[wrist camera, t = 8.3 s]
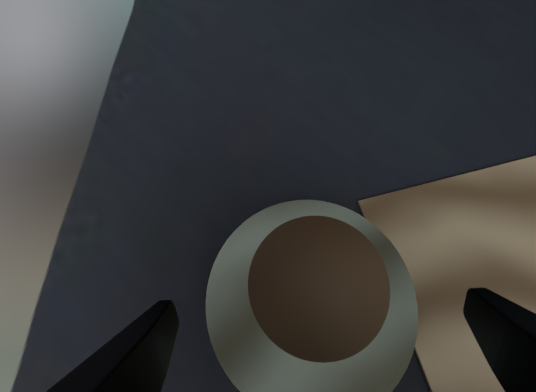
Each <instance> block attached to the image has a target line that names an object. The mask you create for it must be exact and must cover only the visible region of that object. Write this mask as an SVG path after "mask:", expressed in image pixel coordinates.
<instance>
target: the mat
mask: <svg viewBox="0 0 536 392" xmlns="http://www.w3.org/2000/svg"><path fill="white" fill-rule="evenodd" d="M358 204H359V207H360V210H361V212H362V215H363V217H364V218H365V219H367V220H368V221H370V222H371V223H372V224H373V225H375V226H376V227H377V228H378V229H379V230H381V232H382V233H383V234H384V235H385V236H386V237H387V238H388V239H389V240H390V241H391V243H392V244H393V245H394V247H395V248H396V249H397V251H398V252H399V254H400V256H401V258H402V259H403V261H404V263H405V265H406V267H407V269H408V272H409V274H410V276H411V279H412V283H413V286H414V290H415V293H416V300H417V306H418V330H417V339H416V343H415V347H414V349H415V352H416V355H417V357H418V360H419V362H420V365H421V368H422V370H423V373H424V375H425V378H426V380H427V383H428V386H429V388H430V391H431V392H505V391H504V389H503V388H502V386H501V384H500V383H499V381H498V380H497V378H496V376H495V375H494V373H493V371H492V370H491V368H490V366H489V364H488V362H487V360H486V358H485V356H484V354H483V352H482V351H481V349H480V347H479V345H478V343H477V341H476V339H475V337H474V335H473V333H472V331H471V329H470V327H469V325H468V323H467V321H466V319H465V317H464V314H463V307H464V302H465V298H466V293H467V290H468V289H469V288H478V287H483V288H487V289H489V290H491V291H493V292H495V293H497V294H499V295H500V296H502V297H504V298H506V299H508V300H510V301H512V302H514V303H516V304H518V305H520V306H522V307H524V308H526V309H528V310H530V311H532V312H533V313H535V314H536V156H533V157H529V158H525V159H521V160H517V161H513V162H509V163H505V164H501V165H497V166H493V167H489V168H485V169H482V170H478V171H474V172H470V173H466V174H462V175H458V176H454V177H450V178H446V179H442V180H438V181H434V182H430V183H427V184H423V185H419V186H415V187H411V188H407V189H403V190H399V191H395V192H391V193H387V194H383V195H379V196H375V197H372V198H368V199H364V200H360V201H358Z"/></svg>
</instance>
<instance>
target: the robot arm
mask: <svg viewBox="0 0 536 392" xmlns="http://www.w3.org/2000/svg"><path fill="white" fill-rule="evenodd" d="M463 314H464V317H465V319H466V321H467V323H468V325H469V327H470V329H471V331H472V333H473V335H474V337H475V339H476V341H477V343H478V345H479V347H480V349H481V351H482V352H483V354H484V356H485V358H486V360H487V362H488V364H489V366H490V368H491V370H492V371H493V373H494V375H495V376H496V378H497V380H498V381H499V383H500V384H501V386H502V388H503V389H504V391H505V392H536V314H535V313H533V312H532V311H530V310H528V309H526V308H524V307H522V306H520V305H518V304H516V303H514V302H512V301H510V300H508V299H506V298H504V297H502V296H500V295H499V294H497V293H495V292H493V291H491V290H489V289H487V288H483V287H478V288H469V289H468V290H467V293H466V298H465V302H464V307H463ZM178 326H179V319H178V315H177V312H176V308H175V305H174V302H173V301H172V300H161V301H158V302H157V303H156V304H154V305H153V306H152V307H151V308H149V309H148V310H147V311H146V312H145V313H143V314H142V315H141V316H140V317H138V318H137V319H136V320H135V321H133V322H132V323H131V324H130V325H128V326H127V327H126V328H125V329H123V330H122V331H121V332H120V333H118V334H117V335H116V336H115V337H113V338H112V339H111V340H110V341H108V342H107V343H106V344H105V345H103V346H102V347H101V348H100V349H98V350H97V351H96V352H95V353H93V354H92V355H91V356H90V357H88V358H87V359H86V360H85V361H83V362H82V363H81V364H80V365H78V366H77V367H76V368H75V369H73V370H72V371H71V372H70V373H69V374H67V375H66V376H65V377H64V378H62V379H61V380H60V381H59V382H57V383H56V384H55V385H54V386H52V387H51V388H50V389H49V390H47V392H161V389H162V386H163V383H164V380H165V377H166V374H167V370H168V367H169V363H170V359H171V355H172V351H173V347H174V343H175V339H176V335H177V331H178Z"/></svg>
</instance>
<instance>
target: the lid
mask: <svg viewBox="0 0 536 392" xmlns="http://www.w3.org/2000/svg"><path fill="white" fill-rule="evenodd" d="M206 320H207V328H208V333H209V337H210V340H211V344H212V347H213V349H214V352H215V354H216V357H217V359H218V361H219V363H220V365H221V367H222V368H223V370H224V372H225V373H226V375H227V376H228V378H229V379H230V380H231V382H232V383H233V384H234V386H235V387H236V388H237V389H238V390H239V391H240V392H392V391H393V389H394V388H395V387H396V386H397V384H398V383H399V382H400V380H401V378H402V377H403V375H404V373H405V371H406V370H407V368H408V365H409V363H410V360H411V358H412V355H413V351H414V347H415V343H416V339H417V330H418V306H417V300H416V293H415V290H414V286H413V283H412V279H411V276H410V274H409V272H408V269H407V267H406V265H405V263H404V261H403V259H402V258H401V256H400V254H399V252H398V251H397V249H396V248H395V247H394V245H393V244H392V243H391V241H390V240H389V239H388V238H387V237H386V236H385V235H384V234H383V233H382V232H381V230H379V229H378V228H377V227H376V226H375V225H373V224H372V223H371V222H370V221H368V220H367V219H365V218H364V217H362V216H361V215H359V214H358V213H356V212H354V211H352V210H350V209H348V208H345V207H342V206H340V205H337V204H333V203H329V202H325V201H317V200H295V201H287V202H283V203H279V204H276V205H273V206H271V207H268V208H266V209H263V210H262V211H260V212H258V213H256V214H254V215H253V216H251V217H250V218H249V219H247V220H246V221H244V222H243V223H242V224H241V225H240V226H239V227H238V228H237V229H236V230H235V231H234V232H233V233H232V234H231V236H230V237H229V238H228V239H227V241H226V242H225V244H224V245H223V247H222V248H221V250H220V252H219V254H218V256H217V258H216V260H215V262H214V265H213V267H212V270H211V273H210V277H209V281H208V285H207V293H206Z"/></svg>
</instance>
